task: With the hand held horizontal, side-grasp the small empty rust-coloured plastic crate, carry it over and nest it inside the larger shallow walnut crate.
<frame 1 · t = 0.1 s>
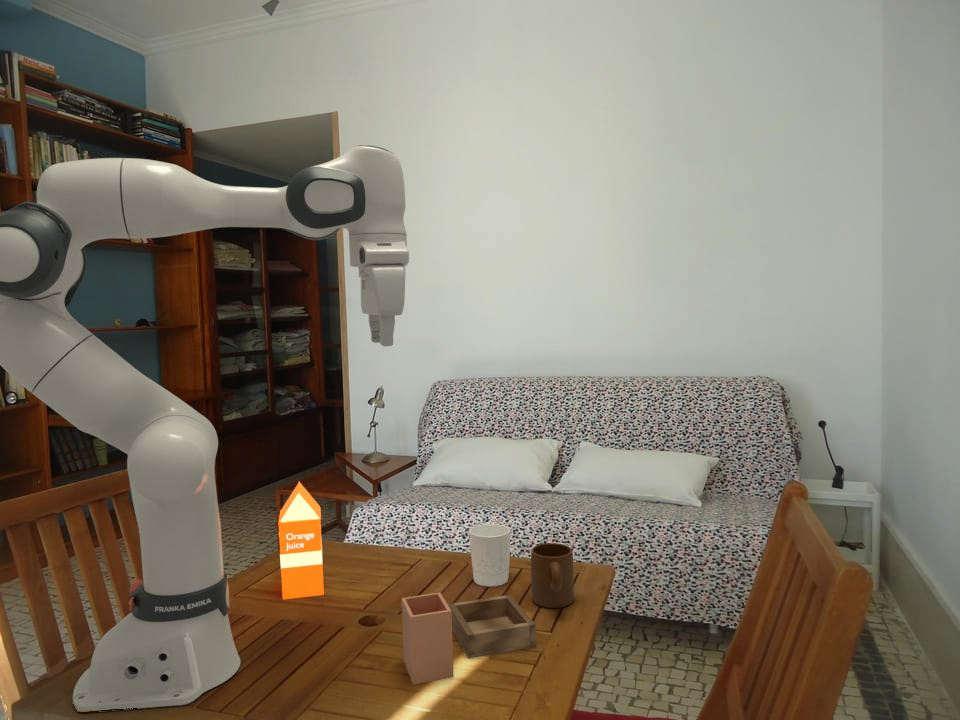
hand: (381, 344, 113), 48 cm above the table, tool pointing down, fingers open, 8 cm apart
small crate: (428, 669, 108), on the table
mug: (554, 606, 129), on the table
white cup: (491, 581, 141), on the table
orange juice: (303, 589, 140), on the table
large crate: (490, 637, 118), on the table
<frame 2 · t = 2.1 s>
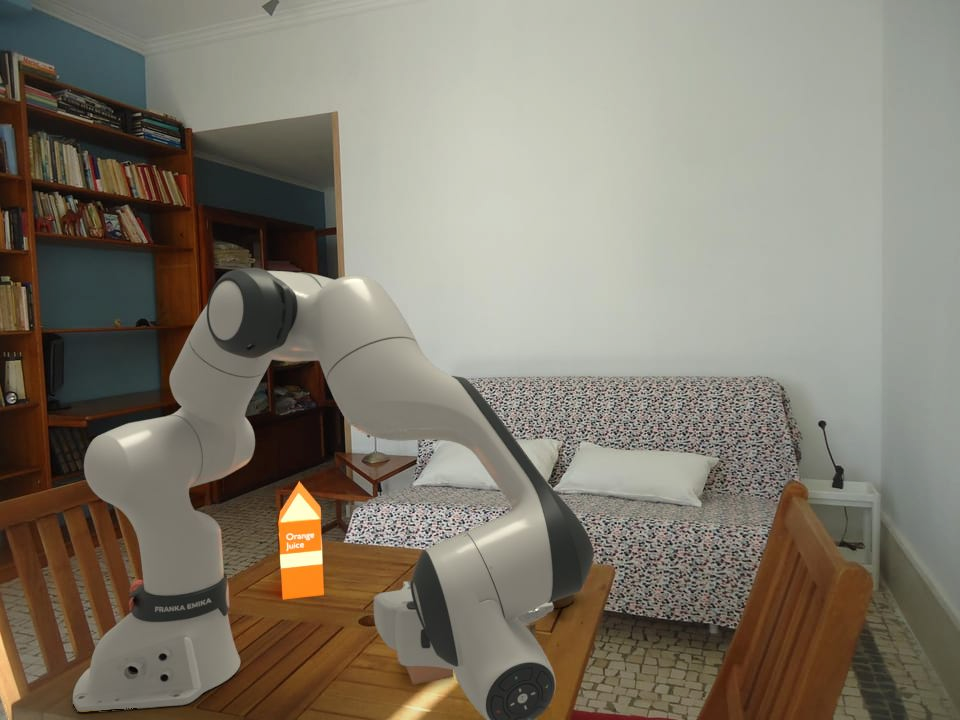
hand: (444, 581, 95), 18 cm above the table, tool horizontal, fingers open, 8 cm apart
nothing on the table moved.
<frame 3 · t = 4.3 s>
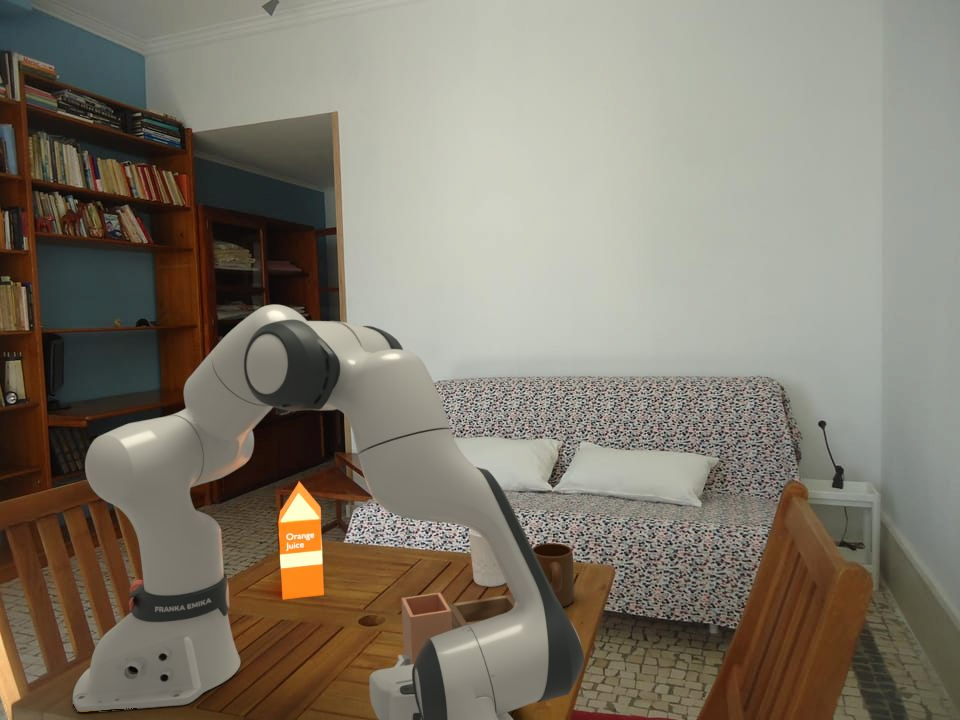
hand: (436, 654, 100), 6 cm above the table, tool horizontal, fingers open, 8 cm apart
nothing on the table moved.
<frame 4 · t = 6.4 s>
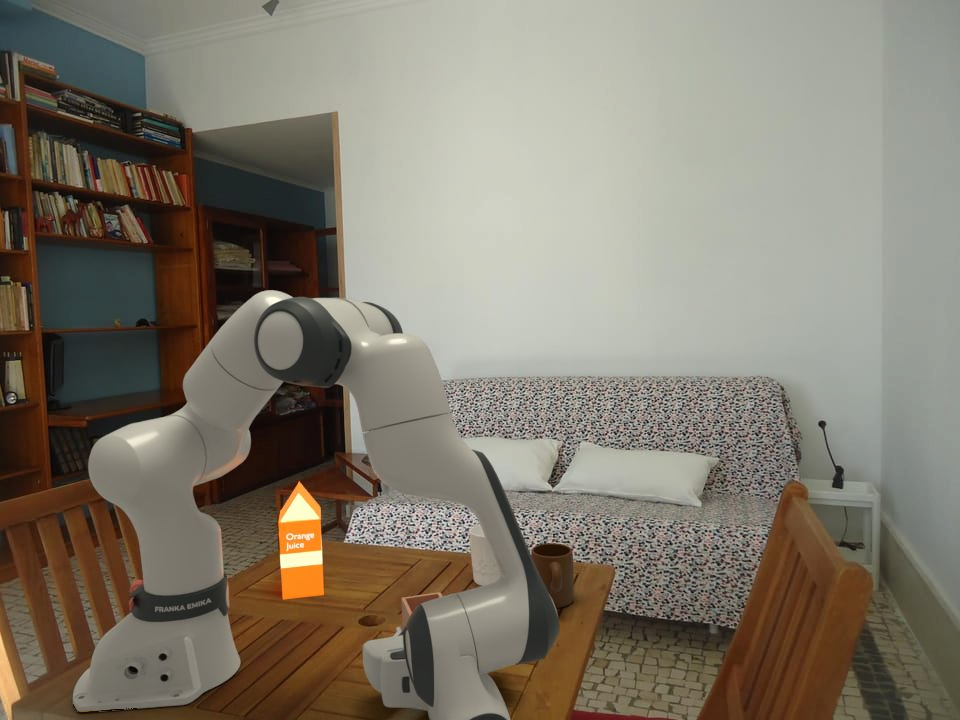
hand: (425, 627, 108), 6 cm above the table, tool horizontal, fingers closed on small crate, 6 cm apart
small crate: (428, 668, 108), on the table, touching gripper
everything else where it was.
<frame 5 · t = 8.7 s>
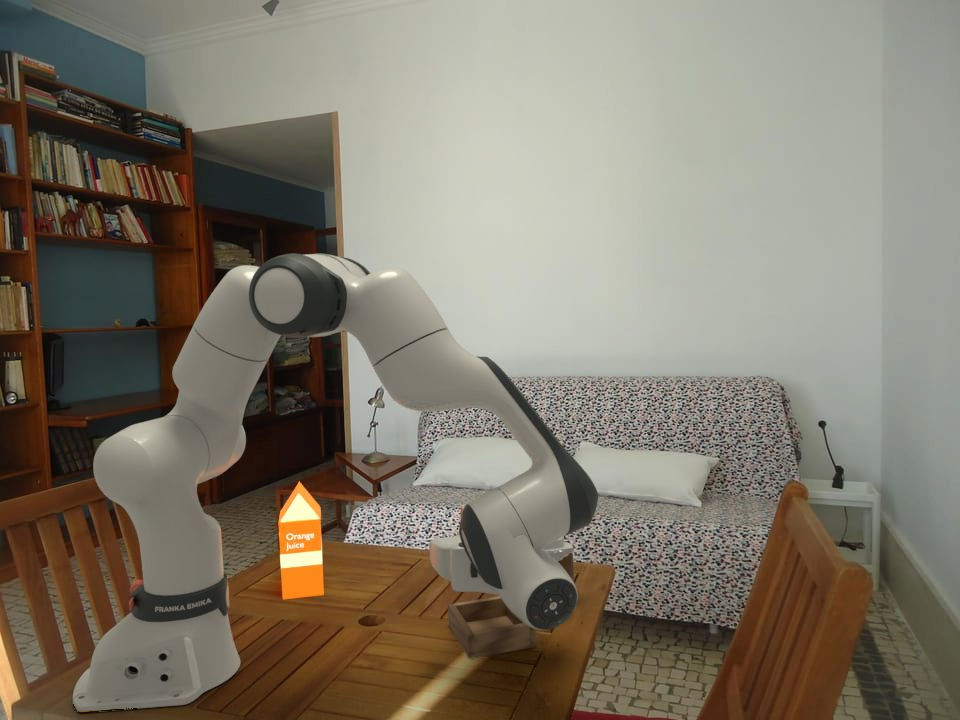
hand: (483, 532, 116), 17 cm above the table, tool horizontal, fingers closed on small crate, 6 cm apart
small crate: (486, 571, 116), point 11 cm above the table, touching gripper
everything else where it was.
when the fingers open (8 cm above the table, at t = 11.0 s): small crate drops 2 cm, resting on large crate.
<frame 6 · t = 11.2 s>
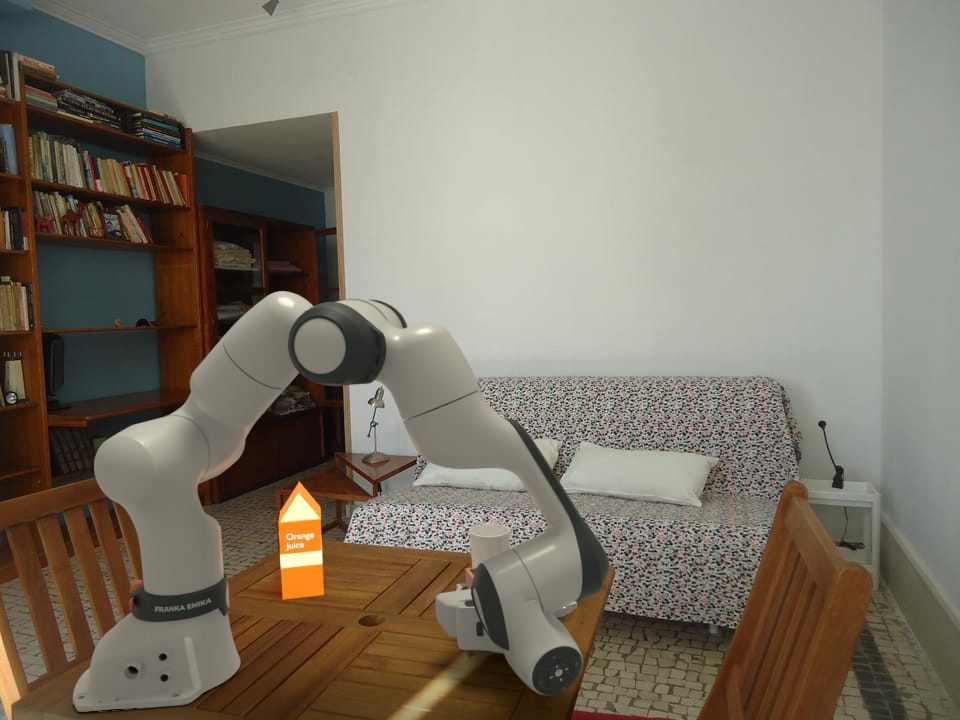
hand: (487, 584, 118), 8 cm above the table, tool horizontal, fingers open, 8 cm apart
small crate: (490, 633, 118), resting on large crate
large crate: (490, 637, 118), on the table, touching small crate
everything else where it was.
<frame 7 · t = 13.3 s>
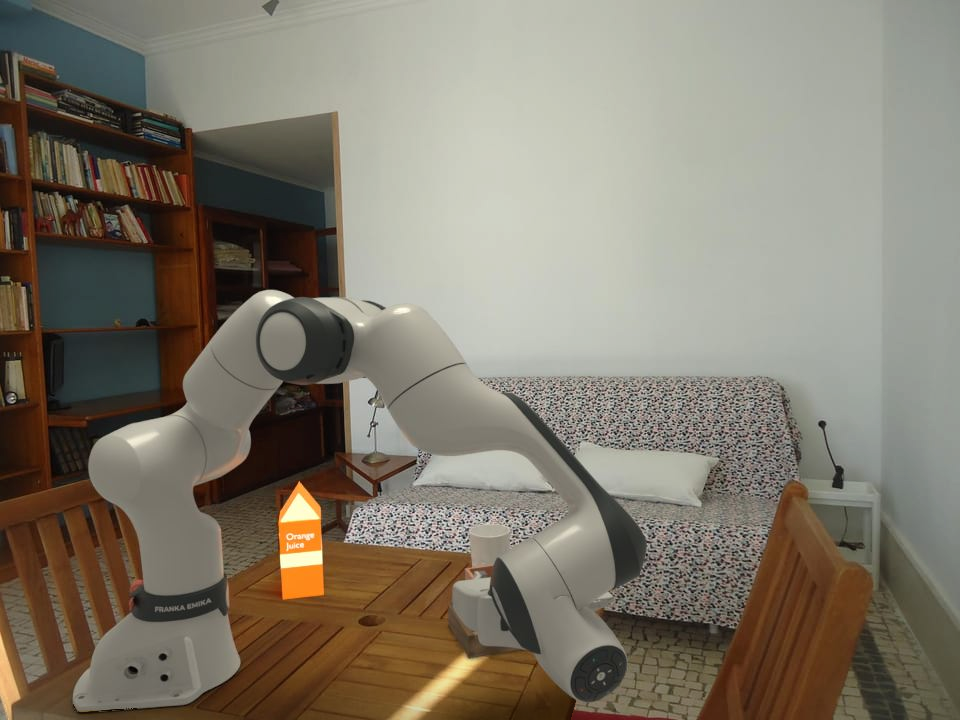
hand: (509, 572, 105), 15 cm above the table, tool horizontal, fingers open, 8 cm apart
nothing on the table moved.
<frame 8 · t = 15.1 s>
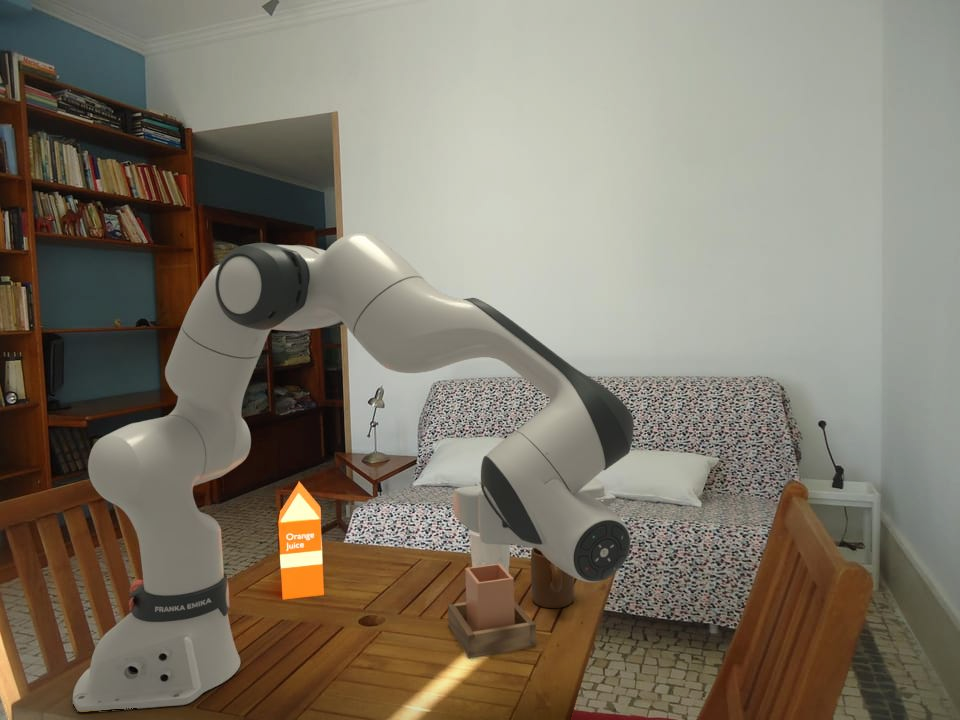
hand: (511, 484, 104), 28 cm above the table, tool horizontal, fingers open, 8 cm apart
nothing on the table moved.
at the end: small crate 0.1 cm off-centre on the large crate, point 0.8 cm above the large crate's base; small crate tilted 0°; the gripper is holding nothing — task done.
